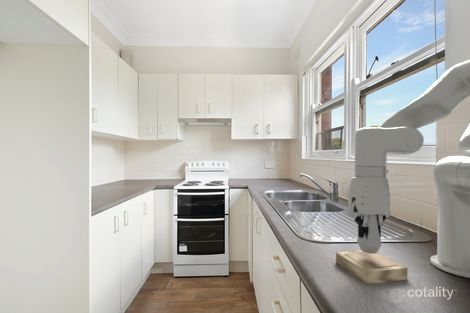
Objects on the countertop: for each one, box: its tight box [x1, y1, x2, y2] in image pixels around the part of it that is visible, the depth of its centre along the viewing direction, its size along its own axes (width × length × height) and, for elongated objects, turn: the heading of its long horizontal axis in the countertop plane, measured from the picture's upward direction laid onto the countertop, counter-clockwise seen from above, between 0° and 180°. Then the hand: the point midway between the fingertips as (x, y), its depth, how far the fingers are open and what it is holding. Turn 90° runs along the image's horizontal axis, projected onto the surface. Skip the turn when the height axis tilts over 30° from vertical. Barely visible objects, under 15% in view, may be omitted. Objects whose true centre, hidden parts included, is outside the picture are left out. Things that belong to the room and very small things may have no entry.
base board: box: [335, 249, 408, 286], centre depth 64 cm, size 12×12×3 cm
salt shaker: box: [356, 215, 382, 254], centre depth 64 cm, size 6×6×13 cm
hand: (369, 239), depth 64 cm, fingers closed on salt shaker, 3 cm apart
